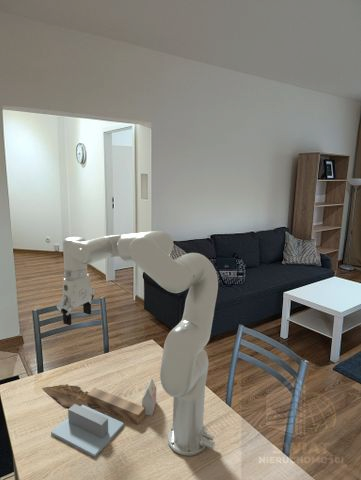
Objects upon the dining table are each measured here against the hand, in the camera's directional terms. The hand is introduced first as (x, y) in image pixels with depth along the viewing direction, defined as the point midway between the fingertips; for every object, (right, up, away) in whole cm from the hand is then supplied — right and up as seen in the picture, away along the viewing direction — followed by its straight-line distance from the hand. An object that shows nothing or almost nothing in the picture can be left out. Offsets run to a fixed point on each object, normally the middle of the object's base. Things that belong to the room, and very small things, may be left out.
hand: (77, 318), depth 117 cm
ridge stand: (+7, -34, -10) cm, 36 cm away
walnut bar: (+14, -32, -1) cm, 35 cm away
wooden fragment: (-4, -31, +5) cm, 31 cm away
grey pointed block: (+26, -32, 0) cm, 41 cm away
